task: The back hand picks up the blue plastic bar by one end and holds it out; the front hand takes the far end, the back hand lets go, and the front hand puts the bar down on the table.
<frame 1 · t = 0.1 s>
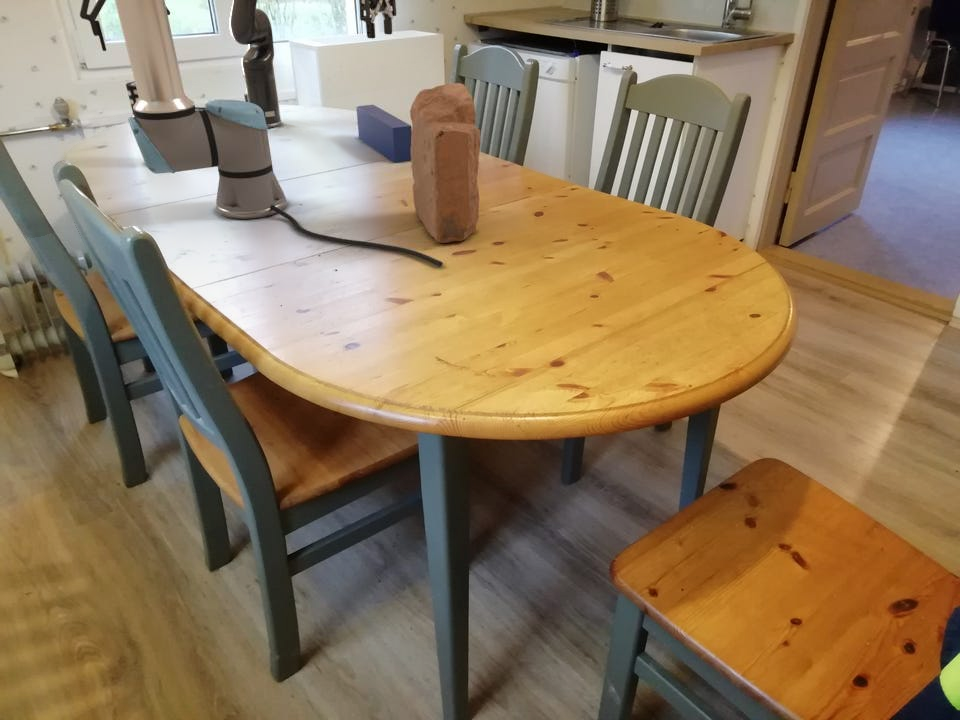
front hand: (134, 48, 174), 28 cm above the table, tool pointing down, fingers open, 13 cm apart
back hand: (379, 36, 190), 29 cm above the table, tool pointing down, fingers open, 8 cm apart
stone: (447, 225, 151), on the table
bar: (384, 148, 200), on the table
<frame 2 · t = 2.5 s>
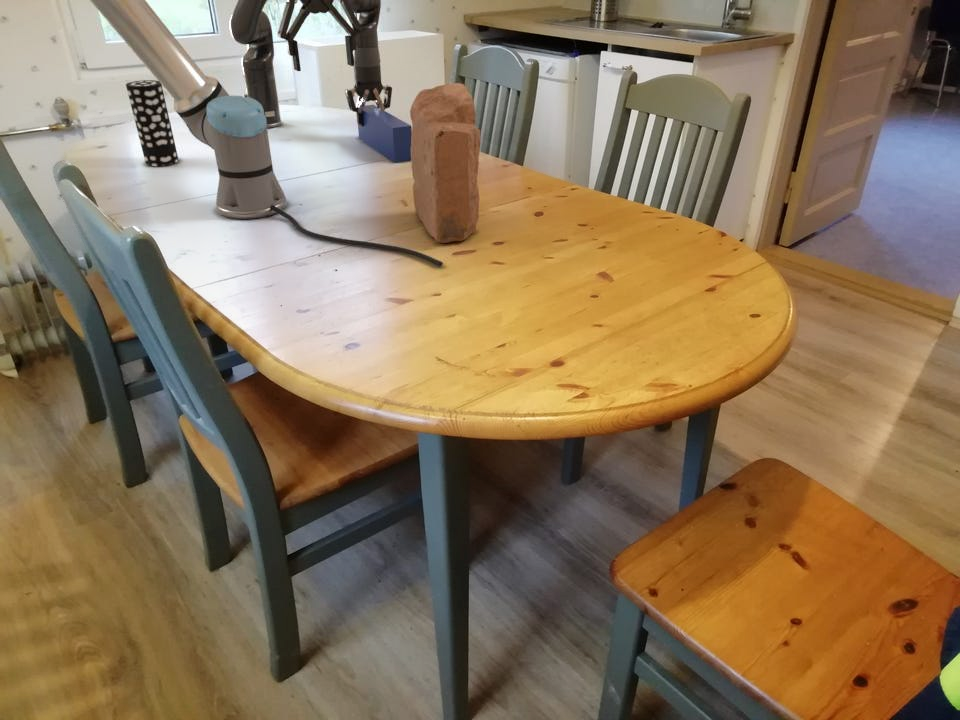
front hand: (324, 67, 167), 26 cm above the table, tool pointing down, fingers open, 13 cm apart
back hand: (371, 124, 204), 5 cm above the table, tool pointing down, fingers closed on bar, 5 cm apart
bar: (384, 148, 200), on the table, touching back hand
everything else where it was.
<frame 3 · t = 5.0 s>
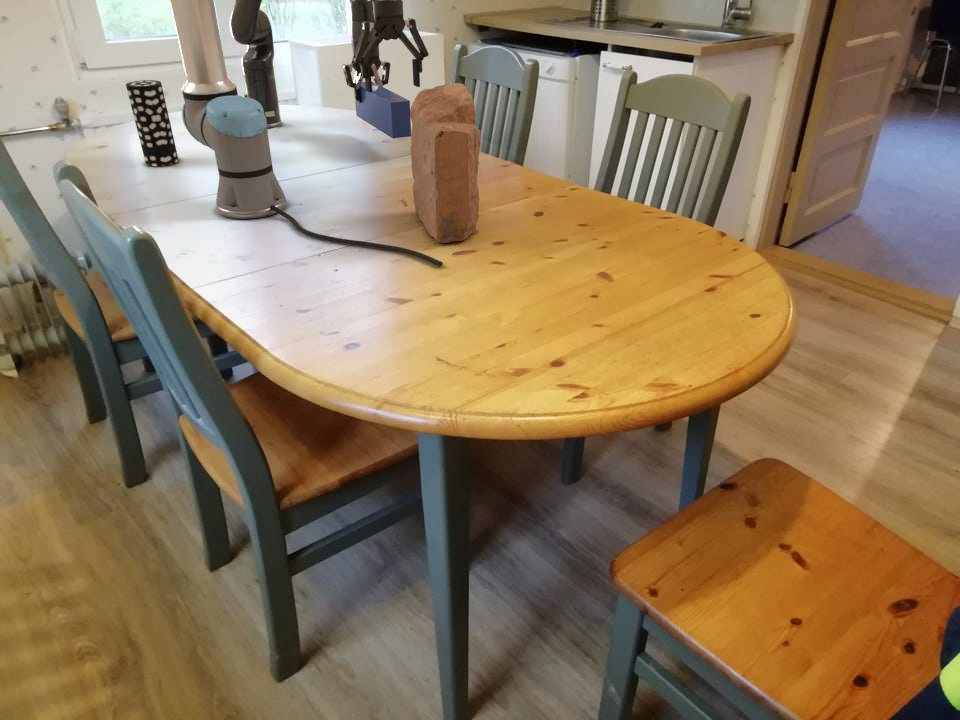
front hand: (393, 88, 182), 18 cm above the table, tool pointing down, fingers open, 13 cm apart
back hand: (369, 100, 201), 11 cm above the table, tool pointing down, fingers closed on bar, 5 cm apart
bar: (382, 125, 196), point 7 cm above the table, touching back hand
everything else where it was.
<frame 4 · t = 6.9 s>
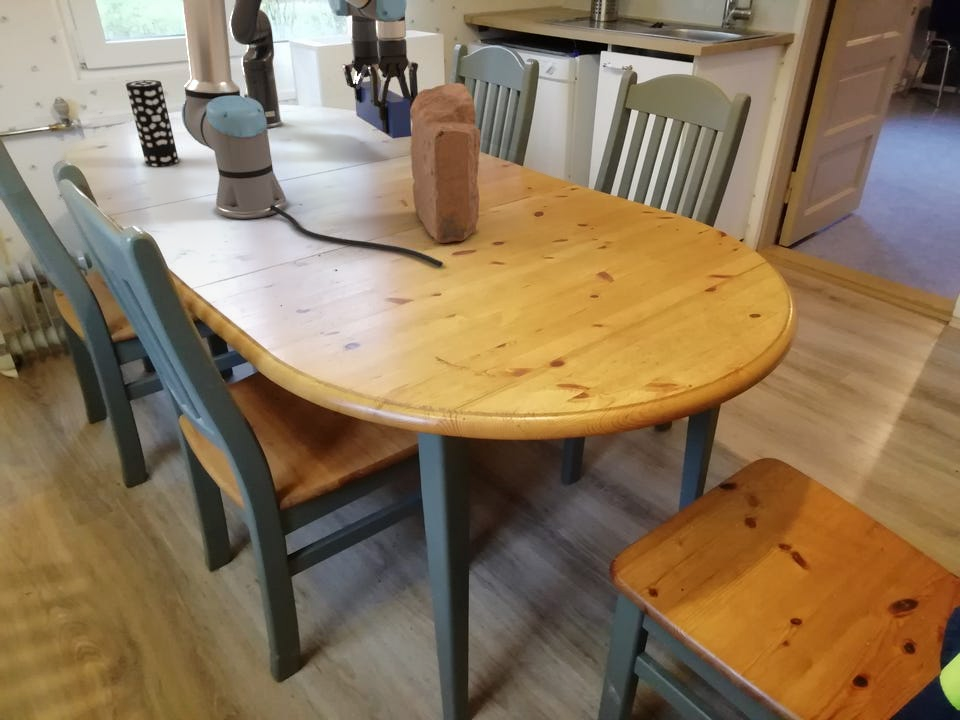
front hand: (396, 130, 189), 7 cm above the table, tool pointing down, fingers closed on bar, 5 cm apart
back hand: (369, 100, 201), 11 cm above the table, tool pointing down, fingers closed on bar, 5 cm apart
bar: (382, 125, 196), point 7 cm above the table, touching front hand, back hand
everything else where it was.
when the back hand's fingers open (11 cm above the table, at t = 7.8 s): bar stays where it is, held by the front hand.
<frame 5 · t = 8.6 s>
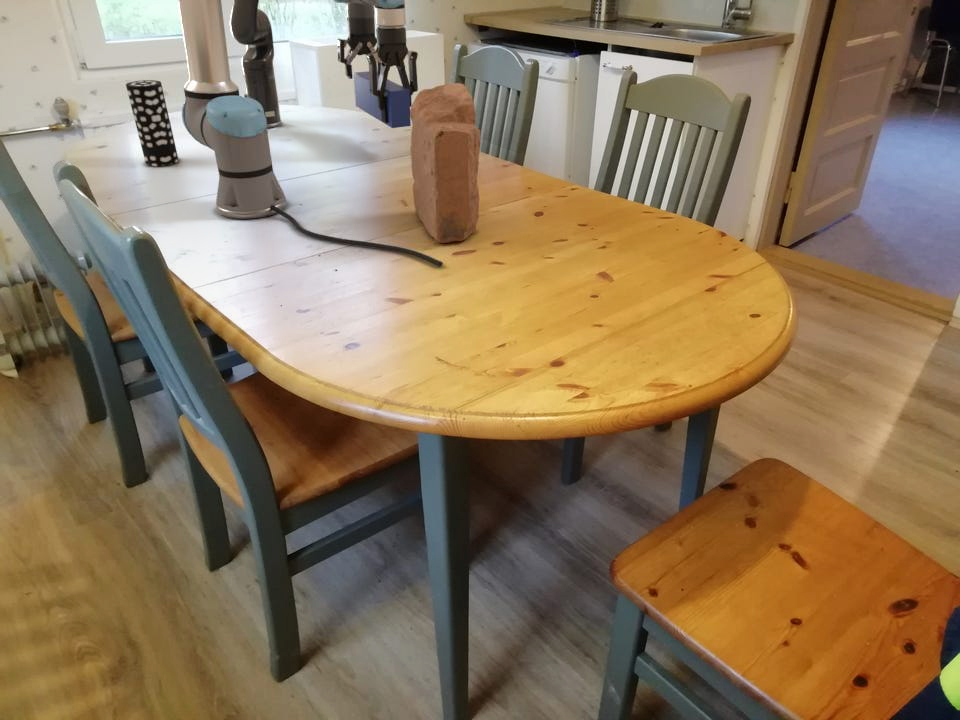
front hand: (395, 120, 187), 10 cm above the table, tool pointing down, fingers closed on bar, 5 cm apart
back hand: (364, 77, 199), 18 cm above the table, tool pointing down, fingers open, 8 cm apart
bar: (381, 115, 195), point 9 cm above the table, touching front hand
everything else where it was.
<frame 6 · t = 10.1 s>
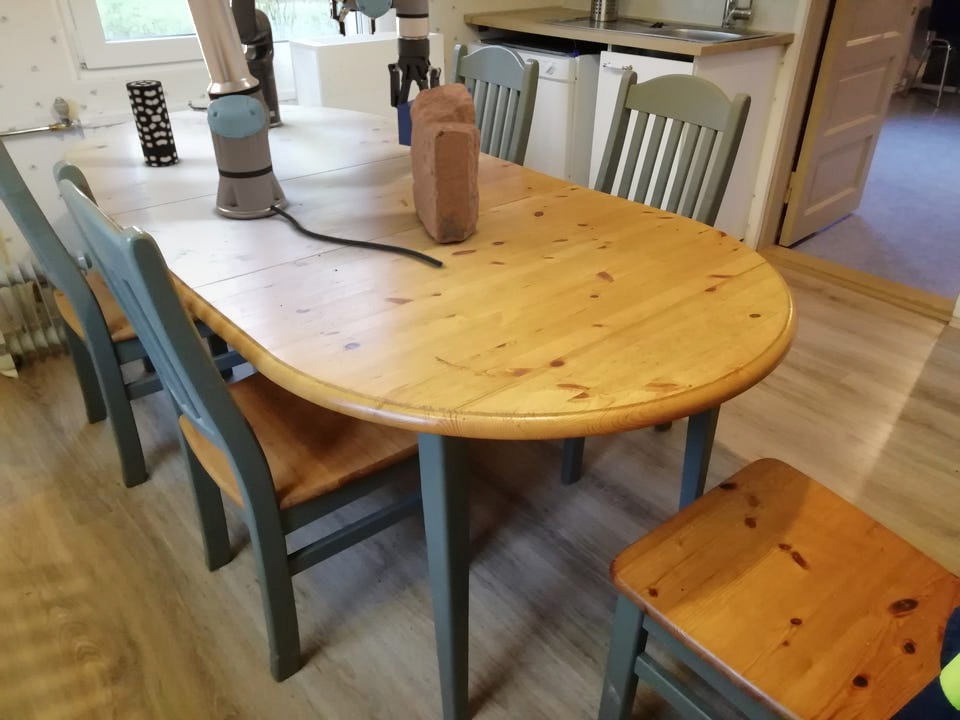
front hand: (416, 138, 172), 10 cm above the table, tool pointing down, fingers closed on bar, 5 cm apart
back hand: (357, 35, 196), 28 cm above the table, tool pointing down, fingers open, 8 cm apart
bar: (436, 133, 180), point 9 cm above the table, touching front hand
everything else where it was.
when the front hand's fingers open (2 cm above the table, at t = 11.4 s): bar drops 1 cm, on the table.
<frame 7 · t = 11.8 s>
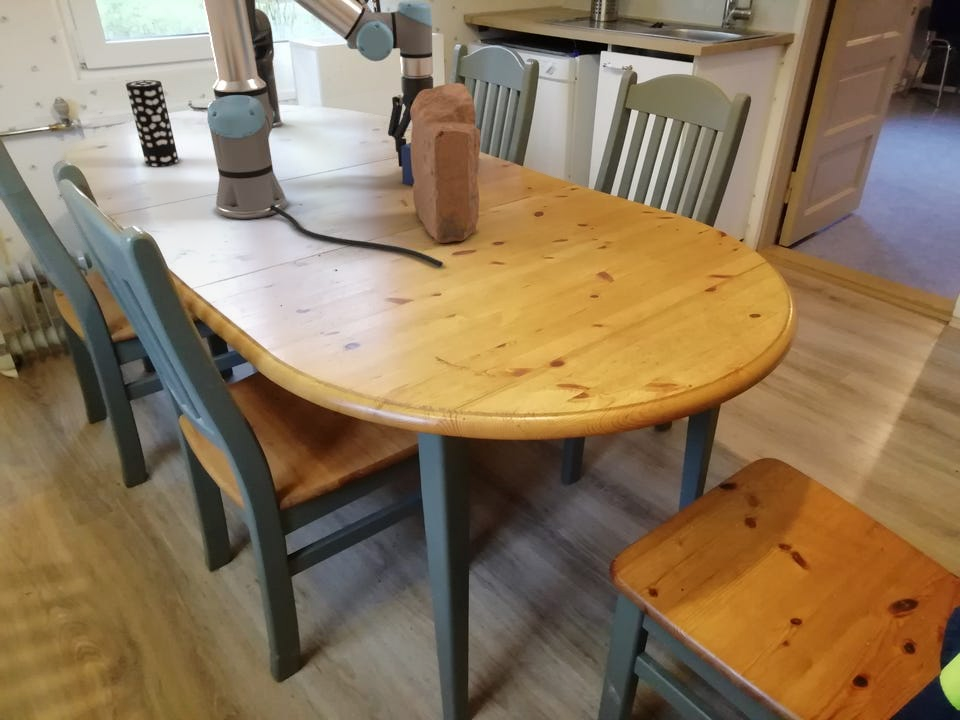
front hand: (420, 168, 174), 3 cm above the table, tool pointing down, fingers open, 10 cm apart
back hand: (357, 35, 196), 28 cm above the table, tool pointing down, fingers open, 8 cm apart
bar: (442, 170, 183), on the table
everything else where it was.
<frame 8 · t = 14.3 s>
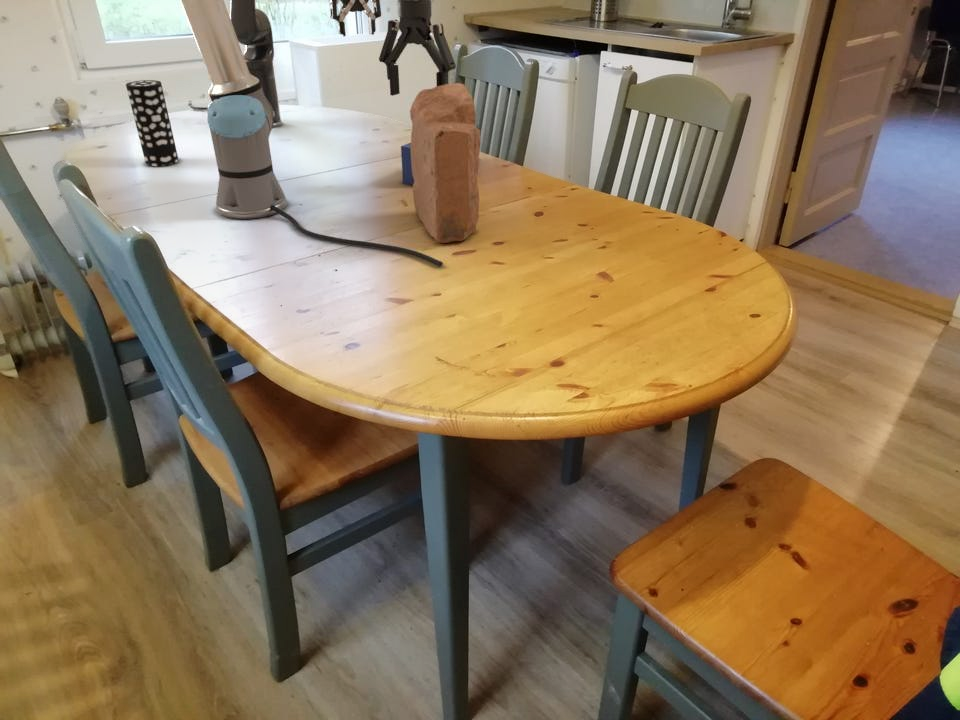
front hand: (417, 98, 165), 20 cm above the table, tool pointing down, fingers open, 13 cm apart
back hand: (357, 35, 196), 28 cm above the table, tool pointing down, fingers open, 8 cm apart
nothing on the table moved.
at the end: bar inside the target area (9.8 cm from its centre), on the table; the front hand is holding nothing; the back hand is holding nothing; bar at rest at the end (0.0 cm/s) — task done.
